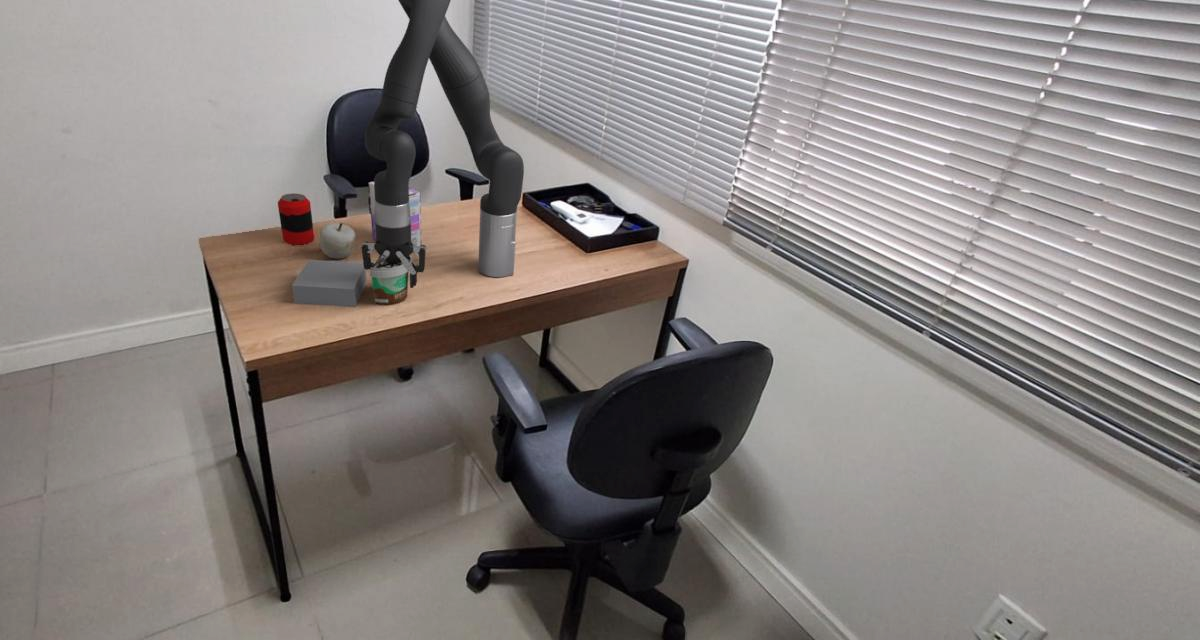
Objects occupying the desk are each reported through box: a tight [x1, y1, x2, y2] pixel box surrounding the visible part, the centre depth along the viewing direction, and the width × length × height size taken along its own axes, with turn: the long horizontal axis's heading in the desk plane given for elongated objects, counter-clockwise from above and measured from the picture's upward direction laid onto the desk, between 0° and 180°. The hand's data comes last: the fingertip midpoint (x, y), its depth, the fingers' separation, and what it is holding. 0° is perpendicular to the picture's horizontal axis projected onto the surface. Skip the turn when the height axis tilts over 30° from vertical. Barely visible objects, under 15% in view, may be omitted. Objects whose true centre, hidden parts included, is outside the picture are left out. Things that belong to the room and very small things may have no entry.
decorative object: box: [318, 221, 357, 260], centre depth 156 cm, size 9×9×10 cm
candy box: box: [368, 181, 422, 246], centre depth 166 cm, size 14×6×16 cm, turn 58°
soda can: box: [277, 192, 315, 246], centre depth 161 cm, size 8×8×12 cm
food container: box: [369, 259, 410, 306], centre depth 143 cm, size 12×6×10 cm, turn 168°
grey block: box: [291, 259, 368, 308], centre depth 143 cm, size 13×13×5 cm
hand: (395, 285), depth 143 cm, fingers closed on food container, 7 cm apart
